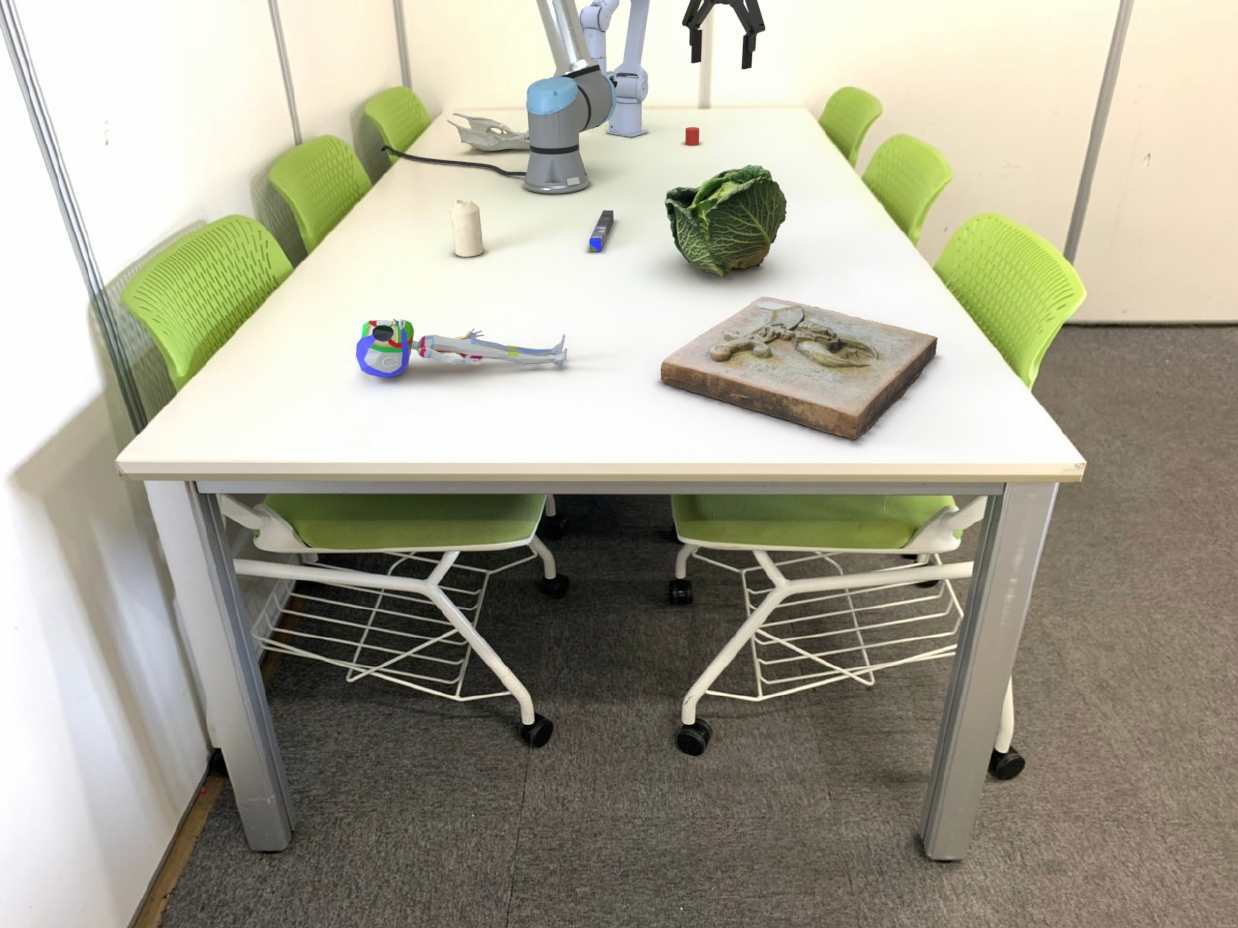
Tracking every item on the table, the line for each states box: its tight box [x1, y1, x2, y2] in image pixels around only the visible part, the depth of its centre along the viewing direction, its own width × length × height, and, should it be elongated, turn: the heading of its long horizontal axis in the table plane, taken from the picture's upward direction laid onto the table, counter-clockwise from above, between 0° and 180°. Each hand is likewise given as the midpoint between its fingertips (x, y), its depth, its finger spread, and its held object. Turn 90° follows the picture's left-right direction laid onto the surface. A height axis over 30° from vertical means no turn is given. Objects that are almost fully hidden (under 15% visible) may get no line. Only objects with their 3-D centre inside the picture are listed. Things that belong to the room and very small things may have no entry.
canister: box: [684, 126, 700, 146], centre depth 249 cm, size 4×4×4 cm
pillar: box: [588, 209, 615, 252], centre depth 182 cm, size 2×2×20 cm
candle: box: [449, 199, 484, 258], centre depth 172 cm, size 6×6×10 cm
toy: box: [353, 318, 568, 379], centre depth 130 cm, size 10×8×30 cm
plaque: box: [660, 296, 939, 441], centre depth 128 cm, size 30×7×30 cm
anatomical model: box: [446, 112, 530, 152], centre depth 245 cm, size 15×9×25 cm
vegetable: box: [664, 164, 788, 278], centre depth 161 cm, size 20×19×20 cm
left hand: (720, 65), depth 195 cm, fingers open, 13 cm apart
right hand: (596, 111), depth 243 cm, fingers open, 7 cm apart
